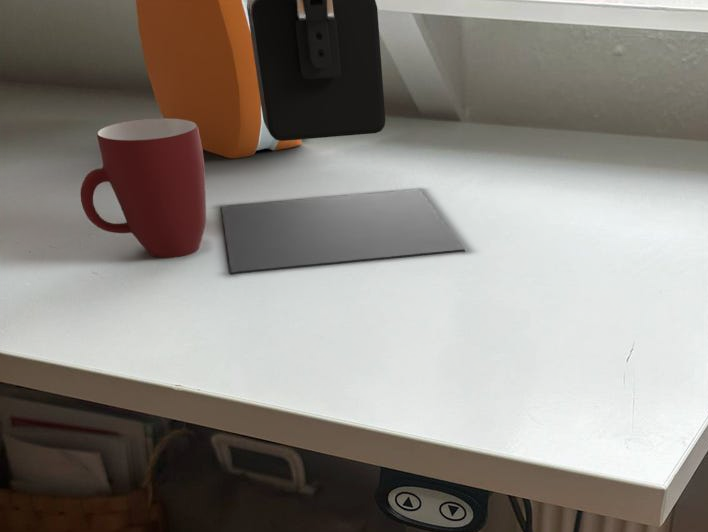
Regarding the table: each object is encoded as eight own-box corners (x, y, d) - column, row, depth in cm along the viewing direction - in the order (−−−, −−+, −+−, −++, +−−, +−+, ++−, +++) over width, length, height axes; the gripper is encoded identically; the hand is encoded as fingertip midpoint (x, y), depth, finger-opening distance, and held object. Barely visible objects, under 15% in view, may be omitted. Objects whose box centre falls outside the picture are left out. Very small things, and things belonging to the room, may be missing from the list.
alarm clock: (321, 149, 112) (294, -91, 97) (250, 165, 107) (210, -86, 92) (225, 121, 125) (189, -95, 110) (157, 134, 120) (110, -91, 105)
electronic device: (386, 132, 81) (376, -7, 75) (270, 142, 79) (250, -1, 73) (376, 122, 84) (366, -12, 78) (264, 131, 82) (244, -6, 76)
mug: (116, 283, 78) (82, 150, 71) (87, 257, 83) (52, 131, 77) (235, 257, 82) (212, 130, 76) (201, 234, 87) (177, 114, 81)
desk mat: (231, 279, 78) (230, 272, 78) (222, 212, 93) (221, 205, 93) (465, 256, 82) (465, 249, 81) (420, 195, 97) (419, 188, 96)
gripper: (227, -215, 73) (265, 59, 85) (238, -231, 60) (282, 94, 72) (324, -216, 74) (348, 54, 86) (354, -231, 62) (378, 87, 73)
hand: (317, 69), depth 79 cm, fingers closed on electronic device, 4 cm apart
